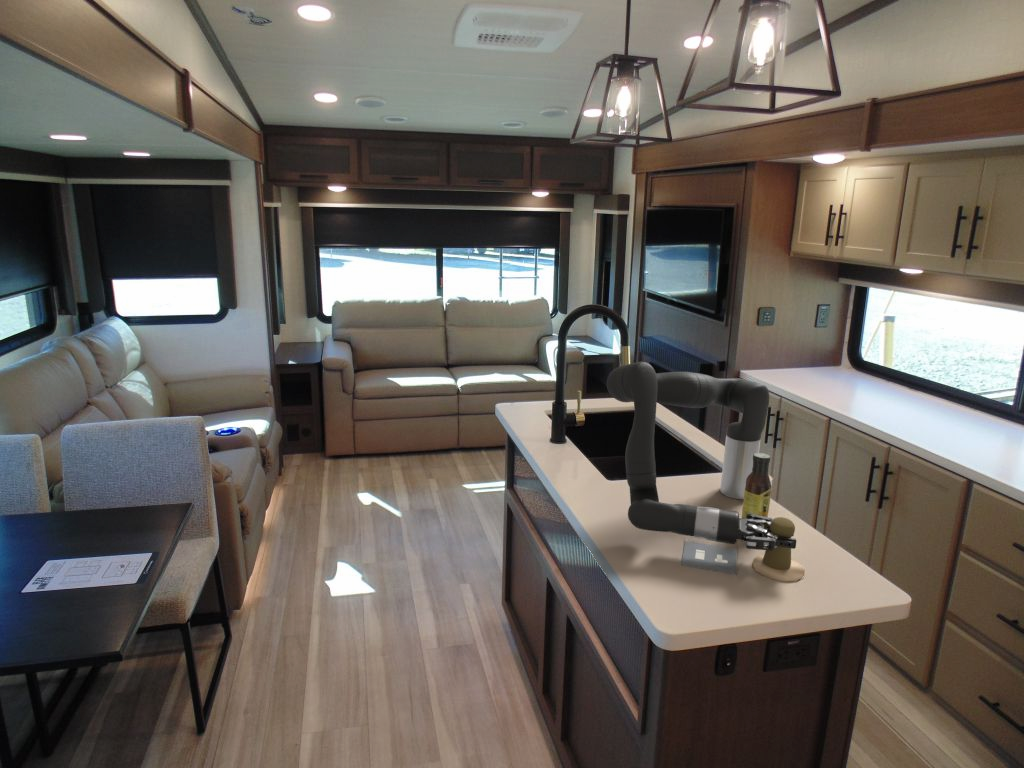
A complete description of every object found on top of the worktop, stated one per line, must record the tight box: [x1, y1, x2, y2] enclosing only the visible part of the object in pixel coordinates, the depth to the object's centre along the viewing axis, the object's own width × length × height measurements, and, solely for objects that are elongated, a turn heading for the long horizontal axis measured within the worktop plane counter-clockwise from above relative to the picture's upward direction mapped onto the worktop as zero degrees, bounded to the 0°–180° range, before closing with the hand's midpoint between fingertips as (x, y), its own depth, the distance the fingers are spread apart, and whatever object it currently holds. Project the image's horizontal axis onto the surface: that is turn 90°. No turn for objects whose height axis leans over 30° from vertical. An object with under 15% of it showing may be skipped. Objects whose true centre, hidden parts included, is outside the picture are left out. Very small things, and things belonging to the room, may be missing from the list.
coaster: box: [752, 554, 805, 583], centre depth 152 cm, size 11×11×1 cm
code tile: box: [681, 540, 738, 575], centre depth 157 cm, size 12×12×1 cm
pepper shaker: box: [763, 516, 796, 570], centre depth 151 cm, size 6×6×11 cm
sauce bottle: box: [740, 452, 773, 522], centre depth 169 cm, size 7×6×20 cm
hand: (794, 537), depth 149 cm, fingers open, 5 cm apart
